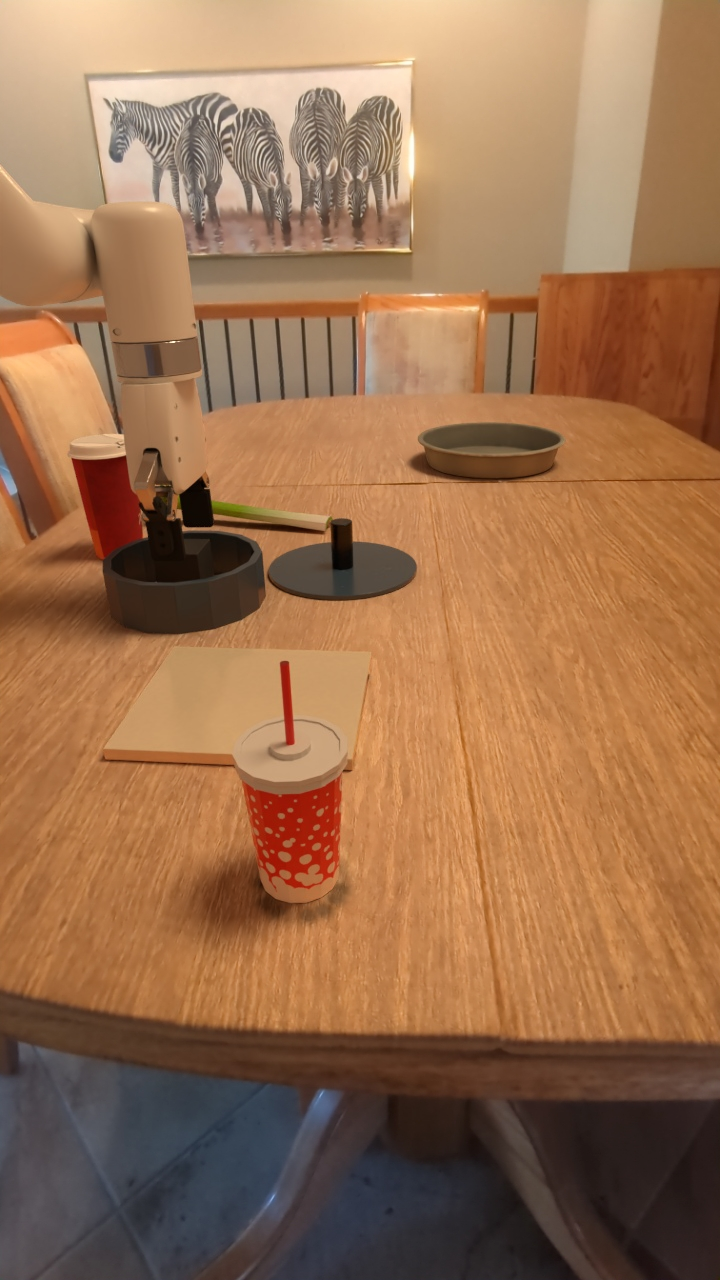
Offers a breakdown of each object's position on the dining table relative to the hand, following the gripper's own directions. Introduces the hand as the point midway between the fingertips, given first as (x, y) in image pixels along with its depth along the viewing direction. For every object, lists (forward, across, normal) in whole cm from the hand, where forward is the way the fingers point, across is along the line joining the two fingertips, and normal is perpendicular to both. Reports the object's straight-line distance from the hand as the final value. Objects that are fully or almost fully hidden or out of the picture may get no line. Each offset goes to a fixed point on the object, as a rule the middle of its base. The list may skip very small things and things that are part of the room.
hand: (185, 542), depth 75 cm
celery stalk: (+7, -26, -4) cm, 27 cm away
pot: (+7, 0, 0) cm, 7 cm away
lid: (+6, -9, +14) cm, 18 cm away
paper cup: (+7, -14, -14) cm, 21 cm away
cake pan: (+8, -61, +34) cm, 70 cm away
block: (+6, 0, 0) cm, 6 cm away
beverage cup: (+7, +37, +18) cm, 42 cm away
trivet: (+7, +19, +10) cm, 23 cm away
